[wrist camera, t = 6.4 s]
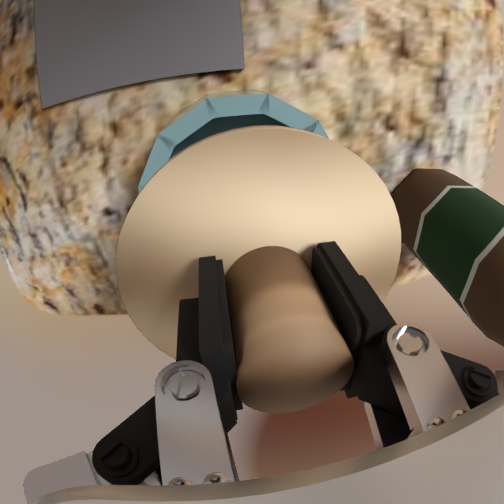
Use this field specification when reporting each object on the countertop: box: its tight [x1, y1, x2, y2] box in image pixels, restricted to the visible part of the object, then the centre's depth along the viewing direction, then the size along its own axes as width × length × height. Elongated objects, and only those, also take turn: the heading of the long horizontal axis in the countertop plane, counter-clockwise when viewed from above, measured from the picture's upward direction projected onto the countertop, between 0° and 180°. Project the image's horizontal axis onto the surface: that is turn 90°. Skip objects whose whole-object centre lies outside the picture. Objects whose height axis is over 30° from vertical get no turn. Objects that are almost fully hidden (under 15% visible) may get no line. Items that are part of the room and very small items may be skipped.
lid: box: [116, 125, 401, 413], centre depth 9 cm, size 10×10×5 cm
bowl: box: [138, 90, 329, 193], centre depth 19 cm, size 11×11×6 cm
